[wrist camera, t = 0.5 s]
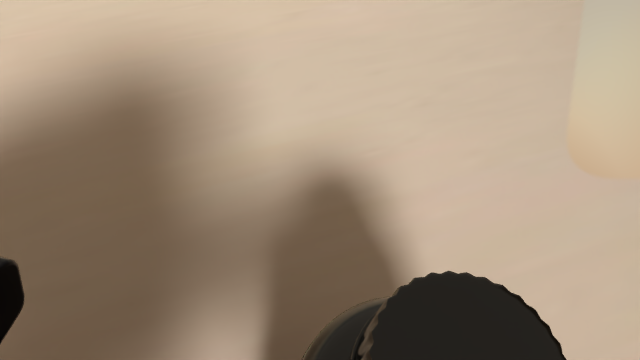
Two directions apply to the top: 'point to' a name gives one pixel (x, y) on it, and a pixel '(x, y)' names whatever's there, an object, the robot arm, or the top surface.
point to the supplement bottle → (439, 325)
